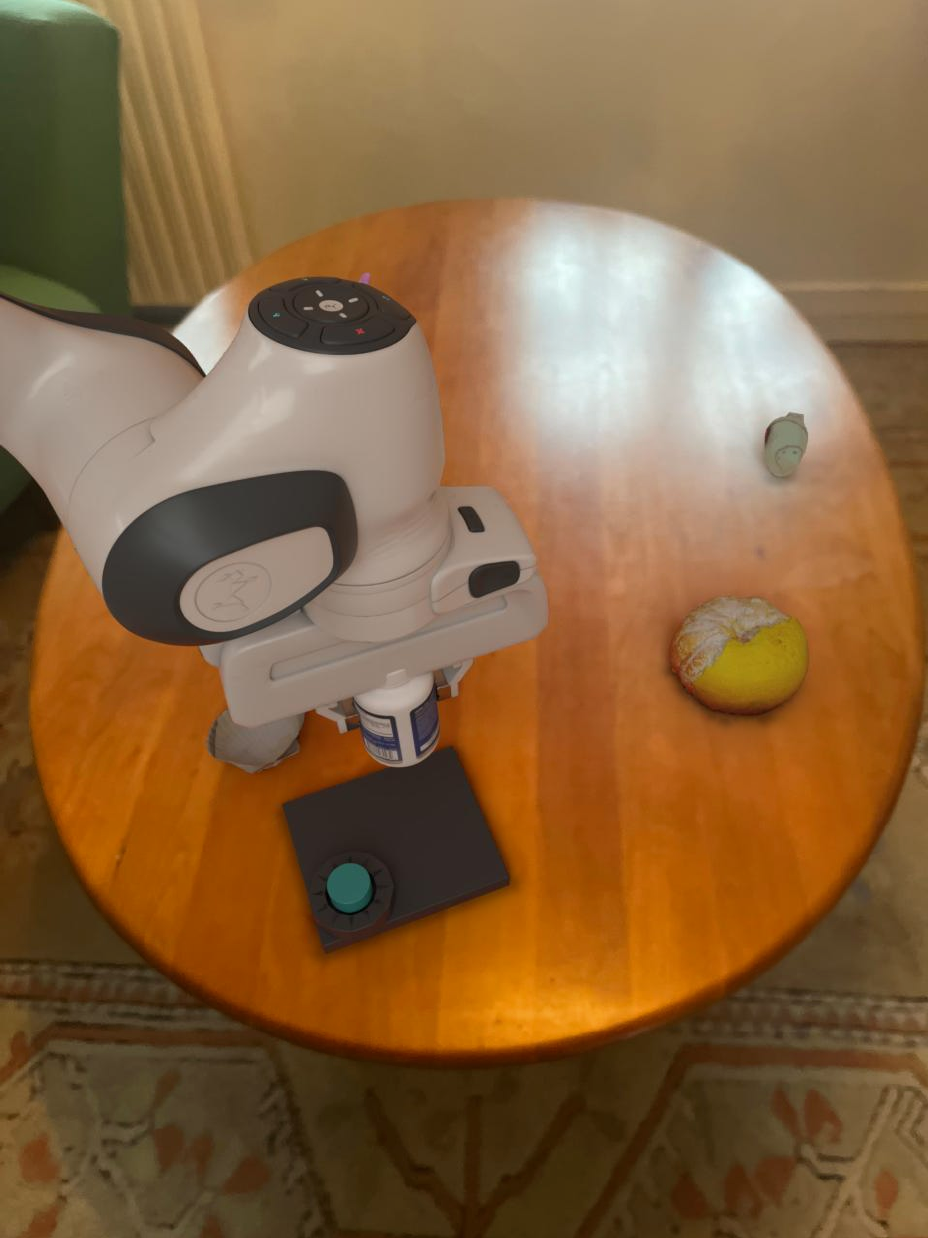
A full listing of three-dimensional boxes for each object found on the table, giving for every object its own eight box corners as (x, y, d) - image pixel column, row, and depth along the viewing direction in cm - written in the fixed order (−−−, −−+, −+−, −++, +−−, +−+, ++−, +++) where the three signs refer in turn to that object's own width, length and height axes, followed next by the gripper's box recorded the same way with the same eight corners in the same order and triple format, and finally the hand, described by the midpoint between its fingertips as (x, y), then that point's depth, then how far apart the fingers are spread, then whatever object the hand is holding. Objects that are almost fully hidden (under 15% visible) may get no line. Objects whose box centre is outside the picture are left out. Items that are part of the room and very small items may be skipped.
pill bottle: (427, 695, 68) (416, 605, 60) (450, 756, 64) (441, 669, 57) (354, 716, 67) (333, 628, 59) (373, 779, 64) (354, 694, 56)
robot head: (794, 503, 94) (810, 449, 89) (752, 496, 95) (765, 443, 90) (799, 451, 99) (815, 398, 94) (759, 445, 100) (773, 392, 94)
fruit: (781, 610, 85) (811, 571, 77) (801, 724, 80) (835, 694, 73) (656, 614, 84) (673, 576, 77) (669, 728, 80) (689, 699, 73)
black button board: (326, 960, 67) (320, 944, 64) (285, 812, 74) (277, 793, 72) (512, 890, 69) (512, 872, 67) (453, 754, 77) (451, 734, 75)
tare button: (336, 919, 66) (333, 910, 65) (325, 881, 68) (322, 871, 66) (378, 904, 66) (375, 894, 65) (365, 866, 68) (363, 856, 67)
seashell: (290, 707, 83) (197, 726, 80) (290, 680, 81) (195, 698, 78) (319, 771, 77) (220, 794, 74) (320, 743, 75) (218, 766, 72)
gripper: (196, 661, 48) (253, 797, 59) (564, 549, 52) (556, 696, 63) (176, 577, 52) (233, 718, 63) (520, 479, 56) (519, 628, 67)
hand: (397, 706), depth 63 cm, fingers closed on pill bottle, 5 cm apart
